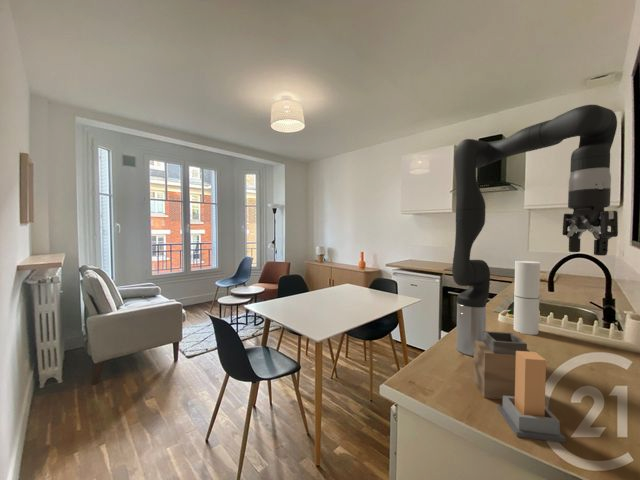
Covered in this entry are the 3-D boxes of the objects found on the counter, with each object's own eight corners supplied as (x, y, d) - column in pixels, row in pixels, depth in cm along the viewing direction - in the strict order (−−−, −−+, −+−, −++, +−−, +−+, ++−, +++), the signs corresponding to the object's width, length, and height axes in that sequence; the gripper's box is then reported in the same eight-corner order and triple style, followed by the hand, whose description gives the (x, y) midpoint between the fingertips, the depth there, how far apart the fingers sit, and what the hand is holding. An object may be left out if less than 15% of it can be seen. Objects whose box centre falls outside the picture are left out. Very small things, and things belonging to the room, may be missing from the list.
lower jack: (497, 409, 67) (498, 393, 67) (539, 413, 66) (539, 397, 65) (516, 436, 58) (517, 418, 58) (565, 442, 57) (565, 423, 57)
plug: (514, 413, 64) (515, 350, 64) (533, 415, 64) (535, 352, 63) (523, 425, 60) (525, 358, 60) (544, 427, 60) (546, 360, 59)
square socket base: (473, 380, 80) (474, 330, 79) (519, 385, 77) (520, 333, 77) (484, 397, 72) (485, 341, 71) (535, 402, 70) (537, 345, 69)
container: (527, 327, 122) (529, 260, 121) (543, 334, 114) (545, 263, 113) (508, 327, 122) (510, 260, 121) (523, 335, 114) (525, 263, 112)
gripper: (553, 193, 76) (551, 251, 76) (593, 185, 62) (591, 256, 62) (584, 192, 74) (582, 251, 75) (633, 183, 60) (630, 256, 61)
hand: (586, 253), depth 69 cm, fingers open, 8 cm apart
